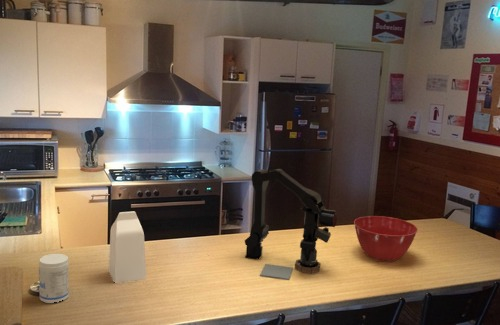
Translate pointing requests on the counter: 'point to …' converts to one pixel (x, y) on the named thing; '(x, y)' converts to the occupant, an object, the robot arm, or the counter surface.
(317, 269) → the walnut collar
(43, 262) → the supplement tub
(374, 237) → the mixing bowl
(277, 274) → the rubber mat
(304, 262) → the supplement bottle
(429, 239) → the counter surface
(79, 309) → the counter surface
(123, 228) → the milk
